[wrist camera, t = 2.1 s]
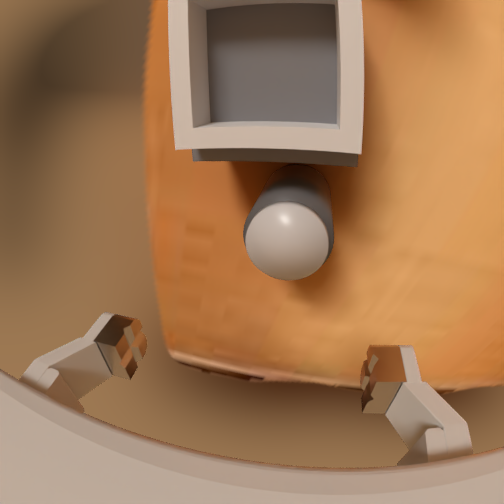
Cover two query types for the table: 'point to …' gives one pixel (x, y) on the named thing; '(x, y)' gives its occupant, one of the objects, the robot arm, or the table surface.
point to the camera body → (268, 80)
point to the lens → (291, 224)
